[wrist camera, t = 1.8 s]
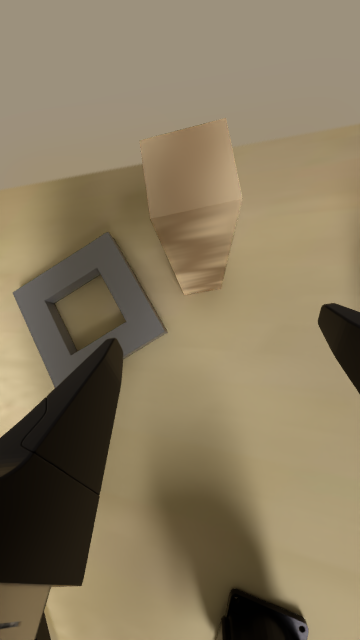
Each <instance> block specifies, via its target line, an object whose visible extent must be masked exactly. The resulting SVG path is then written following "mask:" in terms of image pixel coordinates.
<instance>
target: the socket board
mask: <svg viewBox="0 0 360 640" xmlns="http://www.w3.org/2000/svg"><path fill="white" fill-rule="evenodd" d="M100 274H101V276H102V278H103V279H104V281H105V283H106V285H107V287H108V289H109V290H110V292H111V294H112V296H113V298H114V300H115V302H116V303H117V305H118V307H119V309H120V311H121V313H122V314H123V316H124V318H125V320H126V322H125V323H123V324H122V325H120V326H118V327H117V328H115V329H113V330H112V331H110V332H109V333H107V334H105V335H104V336H102V337H100V338H99V339H97V340H96V341H94V342H92V343H91V344H89V345H87V346H86V347H84V348H83V349H81V350H79V351H78V352H77V350H76V348H75V346H74V344H73V341H72V339H71V337H70V335H69V333H68V331H67V329H66V327H65V325H64V323H63V321H62V319H61V317H60V315H59V312H58V310H57V308H56V306H55V304H54V303H56V302H57V301H59V300H60V299H62V298H64V297H65V296H67V295H68V294H70V293H72V292H73V291H75V290H76V289H78V288H80V287H81V286H83V285H84V284H86V283H87V282H89V281H91V280H92V279H94V278H95V277H97V276H99V275H100ZM13 295H14V297H15V299H16V301H17V304H18V306H19V308H20V310H21V313H22V315H23V317H24V319H25V322H26V324H27V326H28V328H29V331H30V333H31V335H32V337H33V340H34V342H35V344H36V346H37V348H38V351H39V353H40V355H41V357H42V360H43V362H44V364H45V366H46V369H47V371H48V373H49V375H50V378H51V380H52V382H53V384H54V387H55V388H56V387H57V386H58V385H59V384H60V383H61V382H62V381H63V380H64V379H65V378H66V377H67V376H69V375H70V374H71V373H72V372H73V371H74V370H75V369H76V368H77V367H78V366H79V365H80V364H81V363H82V362H83V361H84V360H85V359H86V358H87V357H88V356H89V355H91V354H92V353H93V352H94V351H95V350H96V349H97V348H98V347H99V346H100V345H101V344H102V343H103V342H104V341H105V340H106V339H109V338H116V339H117V340H118V342H119V344H120V346H121V348H122V350H123V359H125V358H126V357H128V356H130V355H131V354H133V353H134V352H136V351H138V350H139V349H141V348H143V347H144V346H146V345H148V344H149V343H151V342H153V341H154V340H156V339H158V338H159V337H161V336H163V335H164V334H166V333H168V332H167V330H166V328H165V327H164V325H163V323H162V321H161V320H160V318H159V316H158V314H157V313H156V311H155V309H154V308H153V306H152V304H151V302H150V301H149V299H148V297H147V295H146V294H145V292H144V290H143V288H142V287H141V285H140V283H139V282H138V280H137V278H136V276H135V275H134V273H133V271H132V269H131V268H130V266H129V264H128V262H127V261H126V259H125V257H124V256H123V254H122V252H121V250H120V249H119V247H118V245H117V243H116V242H115V240H114V238H113V237H112V236H111V235H110V234H109V233H108V232H106V233H105V234H103V235H102V236H100V237H99V238H97V239H96V240H94V241H92V242H91V243H89V244H88V245H86V246H85V247H83V248H82V249H80V250H78V251H77V252H75V253H74V254H72V255H71V256H69V257H67V258H66V259H64V260H63V261H61V262H60V263H58V264H57V265H55V266H53V267H52V268H50V269H49V270H47V271H46V272H44V273H43V274H41V275H39V276H38V277H36V278H35V279H33V280H32V281H30V282H29V283H27V284H25V285H24V286H22V287H21V288H19V289H18V290H16V291H14V292H13Z"/></svg>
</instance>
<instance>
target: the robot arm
mask: <svg viewBox="0 0 360 640" xmlns="http://www.w3.org/2000/svg"><path fill="white" fill-rule="evenodd" d="M318 325H319V327H320V329H321V331H322V333H323V335H324V337H325V339H326V341H327V343H328V345H329V347H330V349H331V351H332V352H333V354H334V356H335V358H336V359H337V361H338V362H339V364H340V365H341V367H342V368H343V370H344V371H345V373H346V374H347V376H348V377H349V379H350V380H351V382H352V383H353V385H354V386H355V388H356V389H357V391H358V392H359V394H360V312H358V311H355V310H352V309H349V308H347V307H344V306H341V305H338V304H335V303H330V304H324V305H323V306H322V307H321V310H320V314H319V318H318ZM122 367H123V350H122V348H121V346H120V344H119V342H118V340H117V339H116V338H109V339H106V340H105V341H104V342H103V343H102V344H101V345H100V346H99V347H98V348H97V349H96V350H95V351H94V352H93V353H92V354H91V355H89V356H88V357H87V358H86V359H85V360H84V361H83V362H82V363H81V364H80V365H79V366H78V367H77V368H76V369H75V370H74V371H73V372H72V373H71V374H70V375H69V376H67V377H66V378H65V379H64V380H63V381H62V382H61V383H60V384H59V385H58V386H57V387H56V388H55V389H54V390H53V391H52V392H51V393H50V394H49V395H48V396H47V398H44V399H43V400H42V401H41V402H40V403H39V404H38V405H37V406H36V407H35V408H34V409H33V410H32V411H31V412H29V413H28V414H27V415H26V416H25V417H24V418H23V419H22V420H21V421H19V422H18V423H17V424H16V425H15V426H14V427H12V428H11V429H10V430H9V431H8V432H7V433H5V434H4V435H3V436H2V437H1V438H0V640H51V639H50V634H49V630H48V626H47V623H46V618H45V614H44V609H45V606H46V602H47V599H48V595H49V592H50V589H51V587H64V586H82V582H83V578H84V574H85V569H86V563H87V558H88V553H89V548H90V543H91V538H92V533H93V527H94V522H95V517H96V512H97V507H98V502H99V495H100V491H101V485H102V480H103V475H104V470H105V465H106V460H107V455H108V449H109V444H110V439H111V434H112V429H113V424H114V419H115V413H116V408H117V403H118V398H119V393H120V387H121V380H122ZM234 597H237V598H234ZM307 637H308V627H307V624H306V621H305V619H304V618H303V617H301V616H299V615H296V614H294V613H292V612H289V611H287V610H285V609H282V608H280V607H278V606H275V605H273V604H271V603H268V602H266V601H264V600H261V599H259V598H257V597H254V596H252V595H250V594H247V593H245V592H243V591H240V590H238V589H232V590H231V592H230V595H229V600H228V605H227V610H226V614H225V616H223V617H222V618H221V622H220V626H219V631H218V636H217V640H307Z"/></svg>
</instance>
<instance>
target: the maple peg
mask: <svg viewBox="0 0 360 640" xmlns="http://www.w3.org/2000/svg"><path fill="white" fill-rule="evenodd" d="M140 148H141V155H142V162H143V170H144V177H145V184H146V192H147V199H148V206H149V214H150V220H151V222H152V224H153V226H154V228H155V231H156V233H157V235H158V237H159V240H160V242H161V244H162V246H163V249H164V251H165V253H166V255H167V257H168V260H169V262H170V264H171V266H172V269H173V271H174V273H175V275H176V278H177V280H178V282H179V284H180V286H181V289H182V291H183V293H184V295H188V294H194V293H199V292H205V291H211V290H217V289H221V287H222V282H223V278H224V274H225V270H226V266H227V262H228V258H229V253H230V249H231V245H232V241H233V237H234V233H235V228H236V224H237V220H238V216H239V212H240V208H241V203H242V199H243V198H242V193H241V188H240V183H239V179H238V174H237V169H236V164H235V159H234V154H233V150H232V145H231V140H230V135H229V130H228V125H227V121H226V118H224V119H220V120H216V121H212V122H208V123H204V124H201V125H197V126H193V127H189V128H185V129H182V130H178V131H174V132H170V133H166V134H163V135H159V136H155V137H151V138H147V139H143V140H140Z"/></svg>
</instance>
